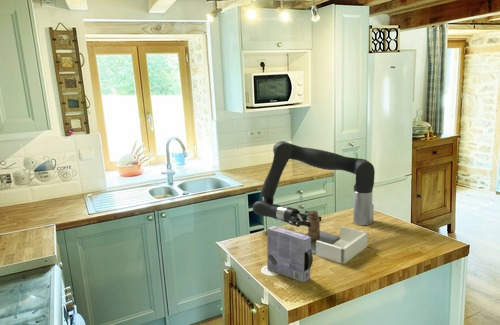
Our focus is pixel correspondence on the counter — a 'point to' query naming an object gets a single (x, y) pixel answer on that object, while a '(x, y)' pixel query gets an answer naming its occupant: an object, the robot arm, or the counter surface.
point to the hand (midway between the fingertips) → (315, 222)
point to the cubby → (343, 245)
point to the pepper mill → (314, 226)
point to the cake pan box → (289, 253)
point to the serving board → (324, 240)
